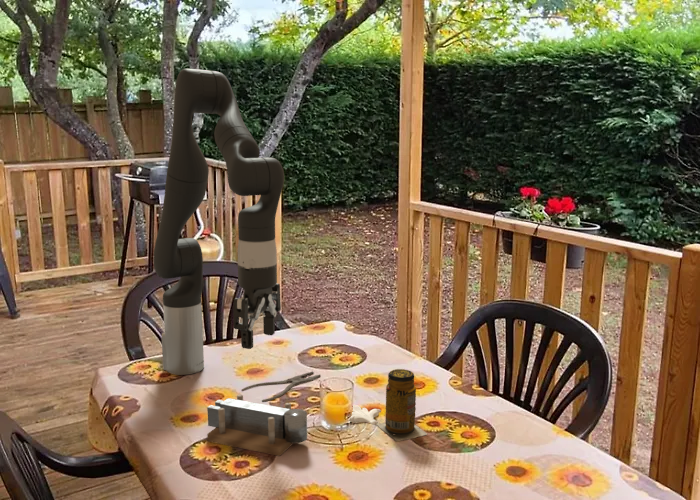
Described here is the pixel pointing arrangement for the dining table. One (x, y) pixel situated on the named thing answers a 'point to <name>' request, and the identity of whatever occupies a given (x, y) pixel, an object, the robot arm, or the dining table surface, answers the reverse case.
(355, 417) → the acanthus leaf ornament
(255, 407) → the grey metal bar
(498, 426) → the dining table surface
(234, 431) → the rack
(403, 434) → the condiment
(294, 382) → the pliers
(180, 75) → the robot arm
